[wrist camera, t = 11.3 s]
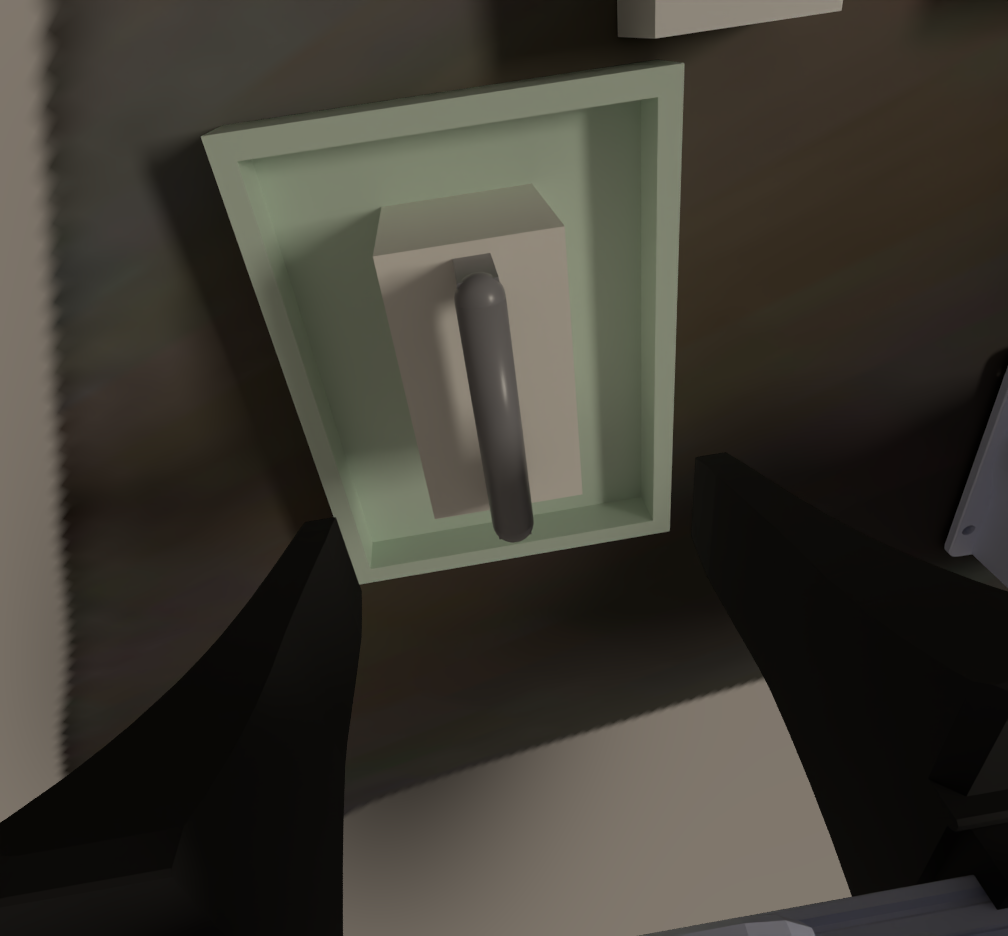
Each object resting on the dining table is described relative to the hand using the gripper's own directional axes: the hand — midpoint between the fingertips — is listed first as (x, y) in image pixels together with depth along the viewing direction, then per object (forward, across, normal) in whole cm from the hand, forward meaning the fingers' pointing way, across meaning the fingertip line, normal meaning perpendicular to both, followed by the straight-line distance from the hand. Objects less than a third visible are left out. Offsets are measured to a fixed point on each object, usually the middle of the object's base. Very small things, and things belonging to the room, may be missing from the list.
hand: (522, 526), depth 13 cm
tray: (+9, 0, 0) cm, 9 cm away
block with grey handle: (+8, 0, -1) cm, 8 cm away
